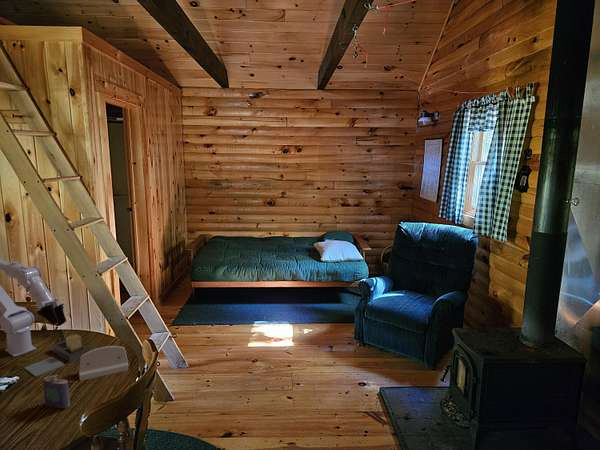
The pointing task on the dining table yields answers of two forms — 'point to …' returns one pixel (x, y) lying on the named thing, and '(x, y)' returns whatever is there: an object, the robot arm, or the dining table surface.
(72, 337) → the tan rectangular block
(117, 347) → the grey rounded block
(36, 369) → the mat
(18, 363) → the dining table surface
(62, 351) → the double cubby frame
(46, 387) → the flask
